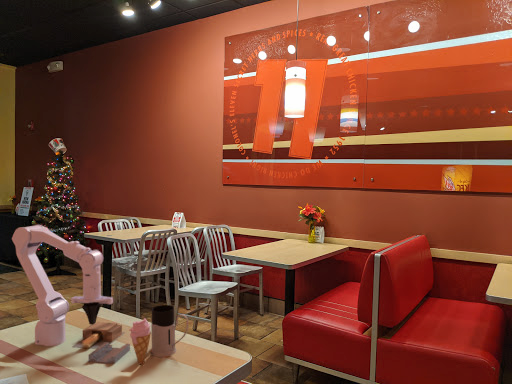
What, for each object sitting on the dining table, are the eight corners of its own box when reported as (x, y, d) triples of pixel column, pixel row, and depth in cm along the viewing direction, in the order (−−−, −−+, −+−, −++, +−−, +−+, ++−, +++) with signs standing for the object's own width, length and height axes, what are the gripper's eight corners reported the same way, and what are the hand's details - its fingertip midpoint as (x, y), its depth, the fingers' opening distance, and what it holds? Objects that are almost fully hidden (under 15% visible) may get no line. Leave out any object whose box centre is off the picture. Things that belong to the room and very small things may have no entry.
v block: (88, 364, 125) (88, 354, 125) (105, 351, 135) (105, 342, 135) (114, 366, 124) (114, 356, 124) (129, 353, 133) (129, 343, 133)
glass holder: (160, 344, 140) (159, 303, 140) (194, 350, 135) (194, 307, 135) (145, 354, 132) (144, 310, 132) (181, 361, 127) (180, 315, 127)
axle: (82, 349, 135) (81, 340, 135) (104, 333, 149) (103, 325, 149) (90, 348, 135) (89, 339, 135) (111, 332, 148) (110, 325, 148)
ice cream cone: (144, 370, 121) (143, 322, 121) (126, 368, 122) (125, 321, 122) (154, 361, 127) (153, 315, 127) (136, 359, 129) (136, 314, 128)
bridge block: (71, 349, 136) (71, 334, 136) (96, 333, 151) (96, 319, 151) (103, 351, 135) (103, 336, 134) (125, 335, 149) (124, 321, 149)
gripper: (66, 287, 135) (66, 326, 135) (106, 288, 133) (106, 328, 134) (77, 282, 142) (78, 319, 142) (115, 283, 140) (116, 320, 141)
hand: (92, 323), depth 139 cm, fingers closed
